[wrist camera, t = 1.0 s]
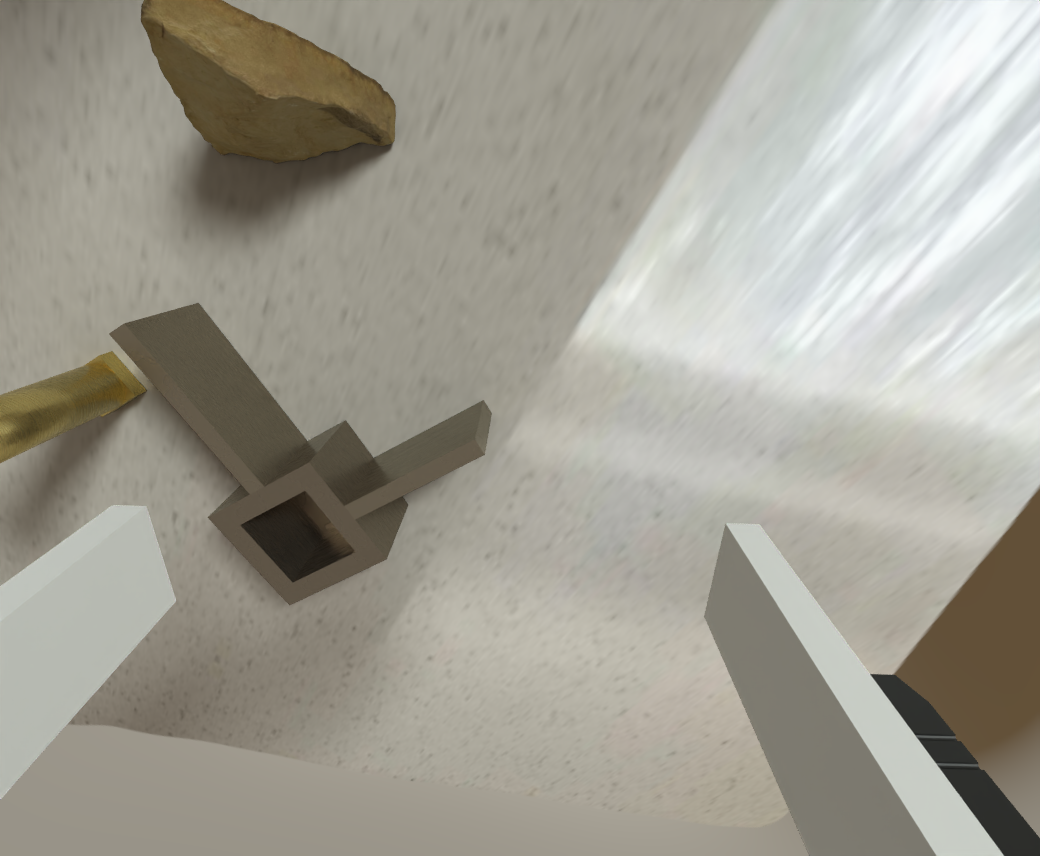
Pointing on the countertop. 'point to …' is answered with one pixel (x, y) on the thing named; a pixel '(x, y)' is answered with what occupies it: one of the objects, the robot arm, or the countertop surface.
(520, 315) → the countertop surface
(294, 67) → the rock
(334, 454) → the hinge
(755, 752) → the countertop surface
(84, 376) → the hinge pin
